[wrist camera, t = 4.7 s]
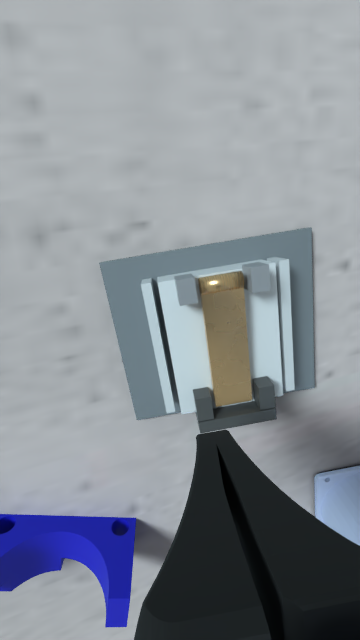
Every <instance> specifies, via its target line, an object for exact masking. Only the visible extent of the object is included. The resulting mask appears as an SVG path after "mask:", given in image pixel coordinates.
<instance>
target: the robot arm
mask: <svg viewBox="0 0 360 640" xmlns="http://www.w3.org/2000/svg"><path fill="white" fill-rule="evenodd" d="M196 440H197V452H196V462H195V468H194V474H193V479H192V484H191V488H190V492H189V496H188V500H187V503H186V507H185V510H184V513H183V516H182V519H181V522H180V525H179V527H178V530H177V533H176V535H175V538H174V541H173V543H172V545H171V548H170V550H169V552H168V554H167V556H166V559H165V561H164V563H163V565H162V567H161V569H160V571H159V574H158V576H157V577H156V579H155V581H154V583H153V585H152V587H151V589H150V590H149V592H148V594H147V596H146V598H145V600H144V602H143V604H142V608H141V612H140V616H139V620H138V624H137V628H136V633H135V637H134V640H360V466H355V467H349V468H344V469H339V470H334V471H329V472H324V473H319V474H317V475H316V476H315V478H314V488H315V517H314V516H313V515H312V514H310V513H309V512H307V511H306V510H305V509H303V508H302V507H301V506H300V505H298V504H297V503H296V502H295V501H293V500H292V499H291V498H290V497H288V496H287V495H286V494H285V493H284V492H283V491H281V490H280V489H279V488H278V487H277V486H276V485H275V484H274V483H273V482H272V481H271V480H270V479H269V478H268V477H267V476H266V475H265V474H264V473H263V472H262V471H261V470H260V469H259V468H258V467H257V466H256V465H255V464H254V463H253V462H252V461H251V459H250V458H249V457H248V456H247V455H246V454H245V453H244V451H243V450H242V449H241V448H240V446H239V445H238V444H237V443H236V441H235V440H234V439H233V437H232V436H231V434H230V433H229V431H227V430H221V431H216V432H210V433H204V434H198V435H197V437H196Z"/></svg>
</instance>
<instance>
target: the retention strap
mask: <svg viewBox="0 0 360 640" xmlns="http://www.w3.org/2000/svg"><path fill="white" fill-rule="evenodd" d="M198 285H199V291H200V297H201V305H202V312H203V320H204V328H205V335H206V343H207V350H208V358H209V365H210V373H211V381H212V388H213V396H214V402H215V405H216V407H219V406H224V405H230V404H235V403H241V402H246V401H251V400H252V390H251V376H250V363H249V350H248V336H247V323H246V309H245V296H244V285H245V282H244V276H243V273H242V271H235V272H230V273H224V274H218V275H212V276H206V277H200V278H198Z"/></svg>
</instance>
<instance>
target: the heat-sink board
mask: <svg viewBox="0 0 360 640" xmlns="http://www.w3.org/2000/svg"><path fill="white" fill-rule="evenodd" d="M99 264H100V268H101V272H102V276H103V280H104V284H105V289H106V293H107V297H108V301H109V305H110V310H111V314H112V318H113V322H114V326H115V330H116V335H117V339H118V343H119V347H120V351H121V356H122V360H123V364H124V368H125V372H126V376H127V381H128V385H129V389H130V393H131V397H132V402H133V406H134V410H135V414H136V418H137V420H141V419H147V418H152V417H157V416H163V415H168V414H174V413H179V412H181V414H186V413H191V412H196V415H197V420H198V424H199V429H200V433H205V432H210V431H216V430H221V429H226V428H232V427H237V426H242V425H248V424H253V423H258V422H264V421H269V420H274V419H277V418H276V408H275V407H276V403H275V397H278V396H283V393H288V392H293V391H298V390H304V389H309V388H315V383H314V331H313V280H312V228H303V229H297V230H291V231H285V232H279V233H273V234H267V235H261V236H255V237H249V238H243V239H237V240H231V241H225V242H219V243H213V244H207V245H201V246H195V247H189V248H183V249H177V250H171V251H165V252H159V253H153V254H147V255H141V256H135V257H129V258H123V259H117V260H112V261H106V262H101V263H99ZM235 271H242V273H243V276H244V282H245V285H244V296H245V309H246V323H247V336H248V350H249V363H250V376H251V390H252V400H251V401H246V402H241V403H235V404H230V405H224V406H219V407H216V405H215V402H214V396H213V388H212V381H211V373H210V365H209V358H208V350H207V343H206V335H205V328H204V320H203V312H202V305H201V297H200V291H199V285H198V278H200V277H206V276H212V275H218V274H224V273H230V272H235Z"/></svg>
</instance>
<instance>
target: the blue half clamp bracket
mask: <svg viewBox="0 0 360 640" xmlns="http://www.w3.org/2000/svg"><path fill="white" fill-rule="evenodd" d="M135 527H136V518H118V517H83V516H48V515H12V514H0V591H12V590H13V589H15V588H16V587H17V586H19V585H20V584H22V583H23V582H25V581H27V580H28V579H30V578H32V577H34V576H37V575H39V574H42V573H45V572H50V571H57V570H61V568H62V564H63V561H64V558H68V559H73V560H76V561H78V562H81V563H82V564H84V565H86V566H87V567H88V568H89V569H90V570H91V571H92V572H93V573H94V574H95V575H96V577H97V578H98V580H99V582H100V584H101V587H102V589H103V593H104V596H105V602H106V626H105V627H127V619H128V611H129V603H130V593H131V580H132V566H133V553H134V540H135Z"/></svg>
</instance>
